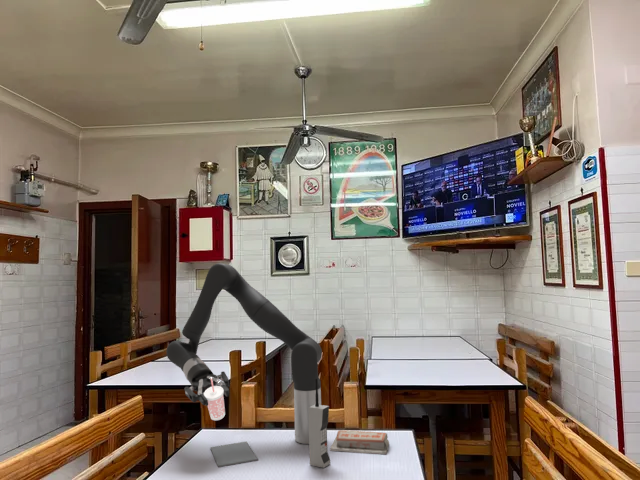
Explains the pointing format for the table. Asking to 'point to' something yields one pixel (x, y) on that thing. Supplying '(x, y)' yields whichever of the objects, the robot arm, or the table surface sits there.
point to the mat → (233, 454)
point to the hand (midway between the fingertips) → (217, 398)
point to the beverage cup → (215, 401)
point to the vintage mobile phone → (318, 433)
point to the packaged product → (360, 442)
